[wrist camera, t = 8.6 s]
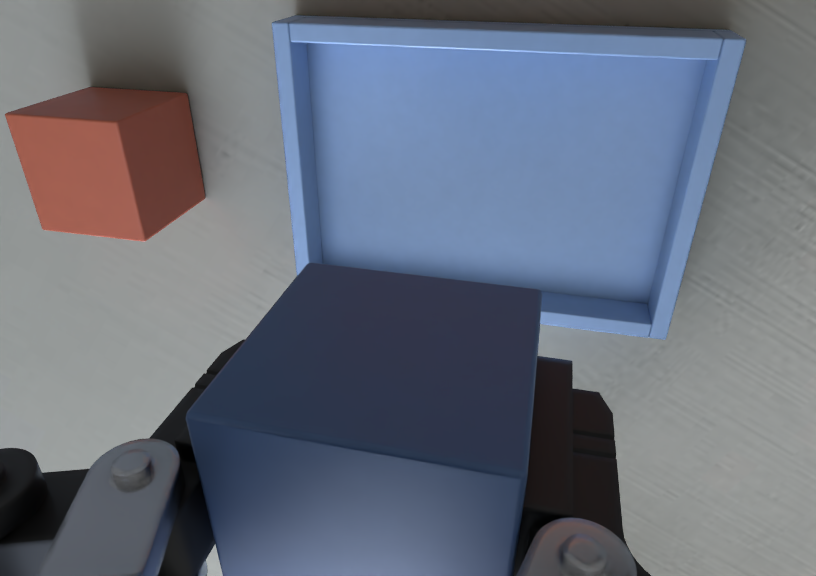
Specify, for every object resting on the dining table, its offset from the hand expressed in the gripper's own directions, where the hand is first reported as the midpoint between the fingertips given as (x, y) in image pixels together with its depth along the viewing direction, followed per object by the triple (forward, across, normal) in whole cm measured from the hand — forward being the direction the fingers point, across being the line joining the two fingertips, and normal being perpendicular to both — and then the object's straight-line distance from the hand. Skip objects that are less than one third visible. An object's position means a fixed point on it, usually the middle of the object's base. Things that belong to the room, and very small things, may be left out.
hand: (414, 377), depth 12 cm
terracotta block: (+12, +14, 0) cm, 19 cm away
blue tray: (+12, 0, 0) cm, 12 cm away
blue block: (0, 0, 0) cm, 0 cm away
